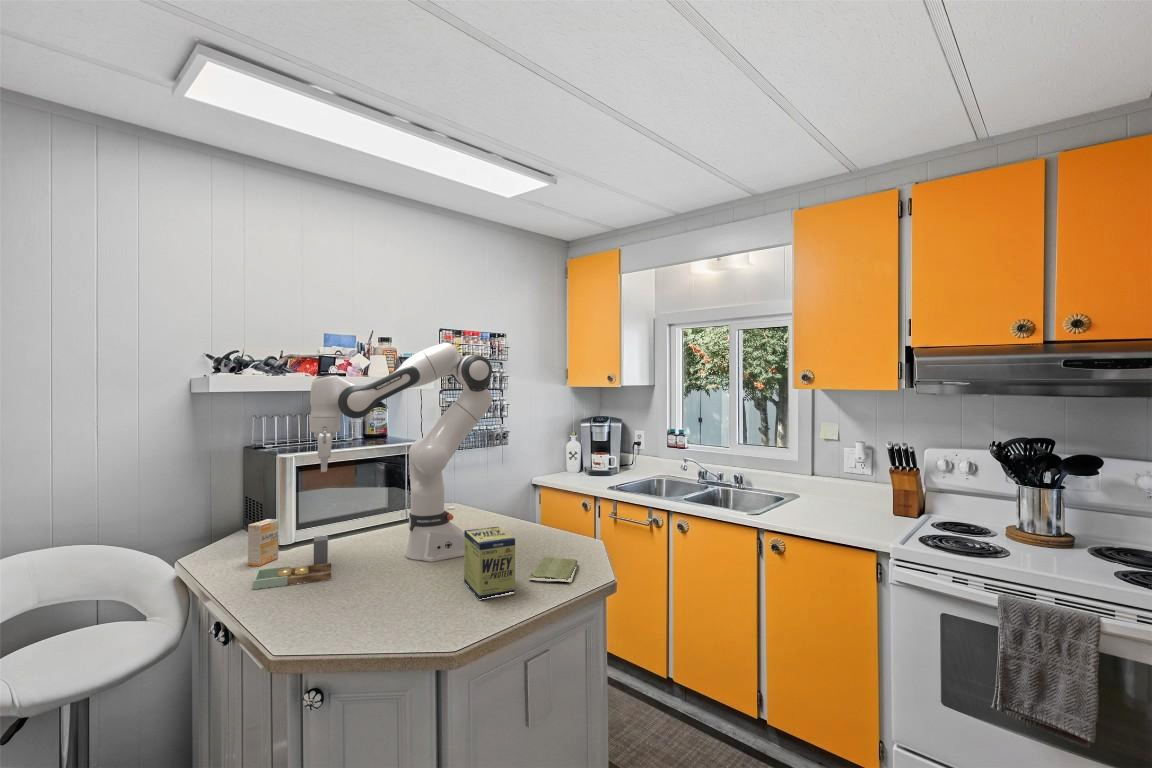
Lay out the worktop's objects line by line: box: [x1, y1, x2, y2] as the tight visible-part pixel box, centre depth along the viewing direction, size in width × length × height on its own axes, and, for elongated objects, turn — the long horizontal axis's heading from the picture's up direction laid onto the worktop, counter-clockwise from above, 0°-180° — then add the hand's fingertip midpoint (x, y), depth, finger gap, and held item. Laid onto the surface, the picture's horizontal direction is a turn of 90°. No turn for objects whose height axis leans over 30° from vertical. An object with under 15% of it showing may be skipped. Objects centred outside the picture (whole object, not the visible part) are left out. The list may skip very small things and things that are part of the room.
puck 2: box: [294, 565, 309, 576], centre depth 164 cm, size 4×4×3 cm
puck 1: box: [277, 567, 292, 577], centre depth 163 cm, size 4×4×3 cm
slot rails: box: [287, 562, 332, 586], centre depth 165 cm, size 12×10×2 cm
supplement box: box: [247, 518, 280, 567], centre depth 179 cm, size 8×5×13 cm, turn 168°
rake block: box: [313, 534, 329, 565], centre depth 175 cm, size 4×6×9 cm
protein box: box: [463, 526, 516, 599], centre depth 157 cm, size 10×16×16 cm
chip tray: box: [252, 565, 291, 590], centre depth 161 cm, size 8×10×2 cm
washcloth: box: [529, 556, 578, 580], centre depth 170 cm, size 13×18×3 cm
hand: (324, 469), depth 175 cm, fingers open, 8 cm apart
